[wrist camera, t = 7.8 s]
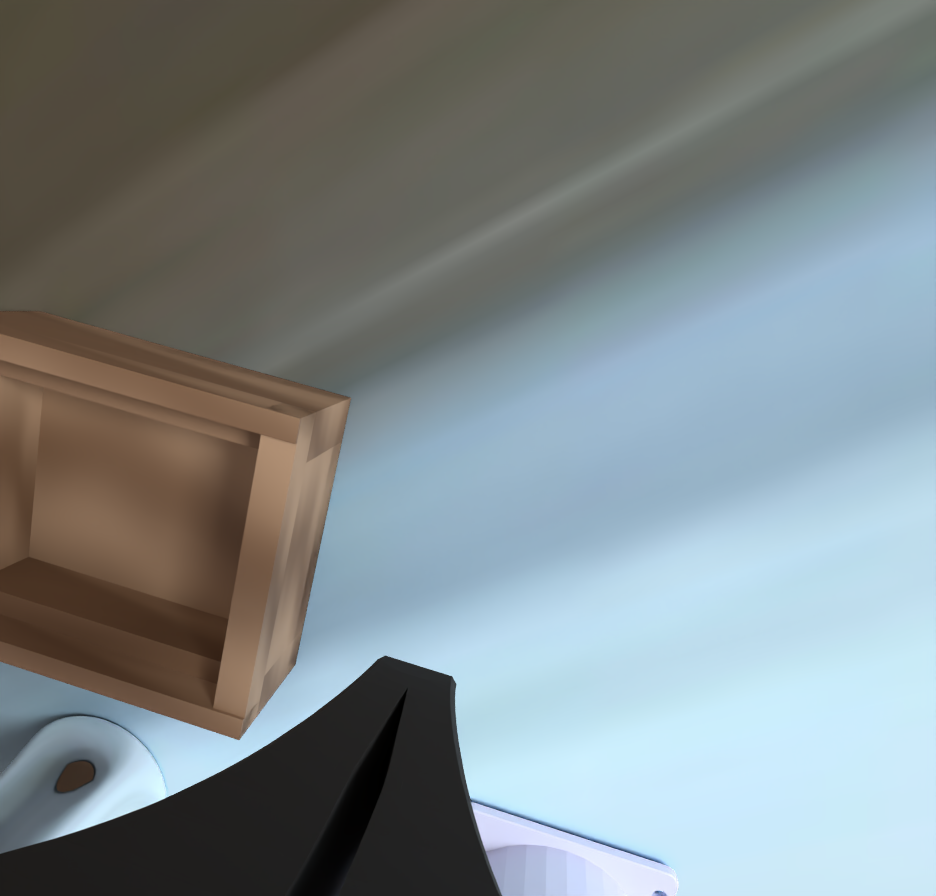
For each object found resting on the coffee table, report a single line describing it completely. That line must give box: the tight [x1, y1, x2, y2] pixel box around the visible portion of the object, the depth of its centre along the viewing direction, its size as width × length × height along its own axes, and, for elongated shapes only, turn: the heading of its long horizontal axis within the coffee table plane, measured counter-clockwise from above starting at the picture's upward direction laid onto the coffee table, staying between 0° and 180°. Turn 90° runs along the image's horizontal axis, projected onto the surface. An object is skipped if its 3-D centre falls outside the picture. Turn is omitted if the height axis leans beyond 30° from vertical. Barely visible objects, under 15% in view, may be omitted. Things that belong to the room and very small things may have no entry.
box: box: [0, 311, 351, 740], centre depth 20 cm, size 10×11×4 cm
